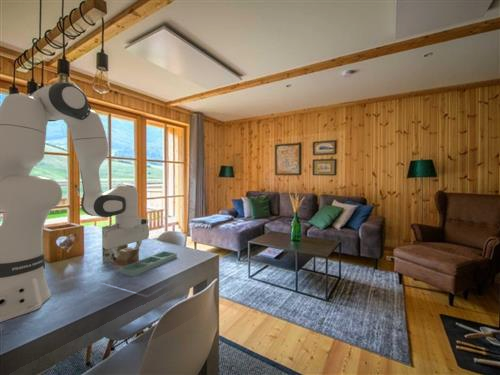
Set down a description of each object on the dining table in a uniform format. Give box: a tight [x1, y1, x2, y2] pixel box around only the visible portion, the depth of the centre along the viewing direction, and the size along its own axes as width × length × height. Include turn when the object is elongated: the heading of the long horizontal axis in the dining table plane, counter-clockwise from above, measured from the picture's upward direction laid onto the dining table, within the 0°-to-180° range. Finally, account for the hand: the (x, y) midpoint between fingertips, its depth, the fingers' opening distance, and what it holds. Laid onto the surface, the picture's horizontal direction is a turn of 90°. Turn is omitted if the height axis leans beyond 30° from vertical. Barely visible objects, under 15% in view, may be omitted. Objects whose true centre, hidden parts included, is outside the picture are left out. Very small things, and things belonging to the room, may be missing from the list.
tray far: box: [151, 250, 178, 264], centre depth 110 cm, size 8×8×2 cm
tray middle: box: [137, 255, 165, 270], centre depth 103 cm, size 8×8×2 cm
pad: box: [111, 263, 124, 269], centre depth 103 cm, size 9×9×1 cm
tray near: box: [118, 262, 151, 278], centre depth 96 cm, size 8×8×2 cm
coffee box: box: [101, 223, 129, 263], centre depth 110 cm, size 9×6×16 cm
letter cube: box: [116, 246, 140, 266], centre depth 103 cm, size 6×6×6 cm
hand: (127, 253), depth 102 cm, fingers open, 8 cm apart
